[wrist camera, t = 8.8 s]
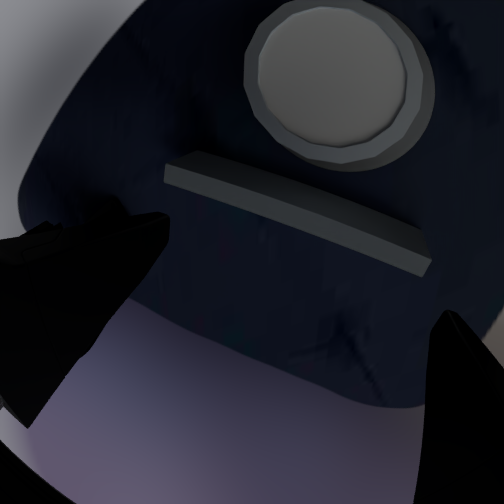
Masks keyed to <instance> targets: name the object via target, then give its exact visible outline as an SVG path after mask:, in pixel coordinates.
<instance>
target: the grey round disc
mask: <svg viewBox="0 0 504 504" xmlns="http://www.w3.org/2000/svg"><path fill="white" fill-rule="evenodd" d="M364 2H365V1H364ZM366 3H368V2H366ZM368 4H370V3H368ZM370 5H372V6H374V7H376V8H378V9H380V10H382V11H383V12H385V13H387V14H388V15H389V16H390V17H391V18H392V19H393V20H394V21H395V22H396V24H397V25H398V26H399V27H400V28H401V29H402V30H403V31H404V33H405V34H406V35H407V36H408V37H409V38H410V40H411V41H412V43H413V46H414V49H415V51H416V54H417V57H418V60H419V63H420V66H421V69H422V72H423V84H422V95H421V104H420V110H419V111H418V113H417V115H416V116H415V118H414V120H413V122H412V123H411V125H410V127H409V128H408V130H407V132H406V133H405V135H404V136H403V138H402V139H400V140H399V141H397V142H396V143H394V144H393V145H391V146H390V147H388V148H387V149H386V150H384V151H383V152H381V153H380V154H378V155H377V156H375V157H371V158H367V159H362V160H357V161H352V162H348V163H343V164H340V163H334V162H328V161H321V160H315V159H308V158H306V157H304V156H302V155H300V154H299V153H297V152H295V151H293V150H291V149H290V148H288V147H286V146H284V145H283V146H284V147H285V148H286V149H287V150H289V151H290V152H291V153H293V154H294V155H296V156H297V157H299V158H301V159H303V160H304V161H306V162H308V163H311V164H313V165H316V166H318V167H322V168H325V169H329V170H335V171H344V172H356V171H366V170H370V169H375V168H378V167H381V166H384V165H386V164H388V163H390V162H392V161H394V160H396V159H398V158H399V157H401V156H402V155H403V154H405V153H406V152H407V151H408V150H409V149H410V148H412V147H413V146H414V144H415V143H416V142H417V141H418V140H419V138H420V137H421V136H422V134H423V132H424V131H425V129H426V127H427V125H428V122H429V120H430V118H431V114H432V110H433V106H434V98H435V84H434V77H433V72H432V68H431V65H430V62H429V59H428V57H427V55H426V53H425V51H424V48H423V47H422V45H421V44H420V42H419V41H418V39H417V38H416V36H415V35H414V34H413V33H412V32H411V31H410V29H409V28H408V27H407V26H406V25H405V24H403V23H402V22H401V21H400V20H399V19H398V18H396V17H395V16H393V15H392V14H390V13H389V12H387V11H386V10H384V9H382V8H380V7H378V6H376V5H373V4H370Z"/></svg>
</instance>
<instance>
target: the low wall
mask: <svg viewBox="0 0 504 504" xmlns="http://www.w3.org/2000/svg"><path fill="white" fill-rule="evenodd" d="M164 182H165V183H168V184H171V185H174V186H177V187H180V188H183V189H186V190H189V191H192V192H195V193H198V194H201V195H204V196H207V197H210V198H213V199H216V200H219V201H221V202H224V203H227V204H230V205H233V206H236V207H239V208H242V209H244V210H247V211H250V212H253V213H256V214H259V215H261V216H264V217H267V218H270V219H273V220H275V221H278V222H281V223H284V224H286V225H289V226H292V227H294V228H297V229H300V230H303V231H305V232H308V233H311V234H313V235H316V236H319V237H321V238H324V239H327V240H329V241H332V242H334V243H337V244H340V245H342V246H345V247H348V248H350V249H353V250H355V251H358V252H360V253H363V254H365V255H368V256H371V257H373V258H376V259H378V260H381V261H383V262H386V263H388V264H391V265H393V266H396V267H398V268H401V269H403V270H405V271H408V272H410V273H413V274H415V275H418V276H420V277H422V276H423V275H424V273H425V271H426V269H427V268H428V266H429V264H430V262H431V261H432V259H431V256H430V253H429V250H428V247H427V244H426V242H425V239H424V236H423V233H422V231H421V230H420V229H418V228H416V227H413V226H411V225H409V224H406V223H404V222H402V221H399V220H397V219H395V218H392V217H390V216H387V215H385V214H382V213H380V212H378V211H375V210H373V209H370V208H368V207H365V206H363V205H360V204H357V203H355V202H352V201H350V200H347V199H344V198H342V197H339V196H337V195H334V194H331V193H328V192H326V191H323V190H320V189H317V188H315V187H312V186H309V185H306V184H303V183H301V182H298V181H295V180H292V179H289V178H286V177H283V176H280V175H277V174H274V173H271V172H268V171H265V170H262V169H259V168H255V167H252V166H249V165H246V164H243V163H239V162H236V161H233V160H230V159H226V158H223V157H219V156H216V155H213V154H209V153H206V152H202V151H198V150H196V151H194V152H192V153H189V154H187V155H185V156H182V157H180V158H178V159H175V160H173V161H171V162H168V163H166V166H165V175H164Z"/></svg>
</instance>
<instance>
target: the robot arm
mask: <svg viewBox="0 0 504 504" xmlns="http://www.w3.org/2000/svg"><path fill="white" fill-rule="evenodd" d="M114 204H115V205H114ZM169 229H170V217H169V216H168V215H167V214H164V213H161V212H152V213H146V214H140V215H134V216H128V215H127V213H126V212H125V210H124V209H123V207H122V205H121V204H120V202H119V201H118V199H116V198H114V199H112V200H110V201H109V202H108V203H106V204H105V205H104V206H103V207H102V208H101V209H100V210H98V211H97V212H96V213H95V214H94V215H93V216H92V217H91V218H90V219H88V220H87V221H86V222H85V223H84V224H83V225H78V226H73V227H68V228H64V229H63V226H62V224H61V222H60V223H58V224H57V225H55V226H53V224H51V223H49V222H48V221H47V220H46V221H45V222H43V223H41V224H40V225H38V226H36V227H35V228H33V229H31V230H29V231H28V232H26V233H24V234H22V235H21V236H19V237H14V238H7V239H1V240H0V410H1V408H2V407H3V406H4V407H5V408H6V409H7V410H8V411H9V412H10V413H11V414H12V415H13V416H14V417H15V418H16V419H17V420H18V421H19V422H20V423H21V424H23V425H24V426H25V427H26V428H27V429H28V428H29V427H30V426H31V424H32V423H33V421H34V420H35V419H36V417H37V416H38V414H39V413H40V411H41V410H42V409H43V407H44V406H45V404H46V403H47V402H48V400H49V399H50V397H51V396H52V395H53V393H54V392H55V390H56V389H57V388H58V386H59V385H60V383H61V382H62V381H63V379H64V378H65V376H66V375H67V374H68V373H69V371H70V370H71V369H72V367H73V366H74V364H75V363H76V362H77V361H78V359H79V358H81V357H82V356H83V355H85V354H86V353H87V352H88V351H89V350H90V348H91V347H92V346H93V344H94V343H95V341H96V339H97V338H98V336H99V335H100V333H101V332H102V330H103V328H104V327H105V325H106V324H107V322H108V321H109V320H110V319H111V317H112V316H113V315H114V314H115V312H116V311H117V310H118V309H119V307H120V306H121V305H122V304H123V303H124V301H125V300H126V299H127V298H128V297H129V296H130V294H131V293H132V292H133V291H134V290H135V288H136V287H137V286H138V285H139V284H140V282H141V281H142V280H143V279H144V277H145V276H146V275H147V273H148V272H149V270H150V269H151V267H152V266H153V264H154V263H155V261H156V260H157V258H158V257H159V255H160V254H161V253H162V251H163V250H164V248H165V247H166V245H167V243H168V240H169ZM413 502H414V503H413V504H504V368H503V367H502V366H501V364H500V363H499V362H498V361H497V359H496V358H495V357H494V356H493V354H492V353H491V352H490V351H489V349H488V348H487V347H486V346H485V345H484V343H483V342H482V341H481V340H480V339H479V337H478V336H477V335H476V334H475V333H474V332H473V330H472V329H471V328H470V327H469V326H468V325H467V324H466V322H465V321H464V320H463V319H462V318H461V317H460V316H459V315H458V314H457V313H456V312H453V311H450V310H445V311H444V312H443V313H442V315H441V316H440V318H439V319H438V321H437V322H436V324H435V325H434V327H433V328H432V330H431V333H430V340H429V352H428V362H427V371H426V392H425V415H424V428H423V438H422V448H421V457H420V465H419V471H418V478H417V484H416V491H415V495H414V501H413ZM0 504H76V503H74V502H73V501H72V500H70V499H69V498H67V497H66V496H64V495H63V494H62V493H60V492H59V491H58V490H56V489H55V488H54V487H52V486H51V485H50V484H49V483H48V482H46V481H45V480H44V479H43V478H41V477H40V476H39V475H38V474H36V473H35V472H34V471H33V470H32V469H31V468H30V467H28V466H27V465H26V464H25V463H24V462H23V461H22V460H21V459H19V458H18V457H17V456H16V455H15V454H14V453H13V452H12V451H11V450H10V449H9V448H8V447H7V446H6V445H5V444H4V443H3V442H2V441H1V440H0Z"/></svg>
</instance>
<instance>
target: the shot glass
mask: <svg viewBox="0 0 504 504" xmlns="http://www.w3.org/2000/svg"><path fill="white" fill-rule="evenodd" d="M422 84H423V72H422V69H421V66H420V63H419V60H418V57H417V54H416V51H415V49H414V46H413V43H412V41H411V40H410V38H409V37H408V36H407V35H406V34H405V33H404V31H403V30H402V29H401V28H400V27H399V26H398V25H397V24H396V22H395V21H394V20H393V19H392V18H391V17H390V16H389V15H388V14H387V13H385V12H383V11H382V10H380V9H378V8H376V7H374V6H372V5H370V4H368V3H366V2H364V1H362V0H294V1H291V2H288V3H285V4H283V5H282V6H281V7H279V8H278V9H277V10H276V11H275V12H273V13H272V14H271V15H270V16H269V17H267V18H266V19H265V20H264V21H263V22H262V23H260V24H259V26H258V28H257V30H256V32H255V34H254V36H253V38H252V40H251V42H250V44H249V46H248V48H247V50H246V52H245V60H244V85H243V86H244V88H245V91H246V94H247V96H248V99H249V102H250V104H251V107H252V110H253V113H254V116H255V117H256V118H257V119H258V120H259V122H260V123H261V124H262V125H263V126H264V127H265V128H266V130H267V131H268V132H269V133H270V134H271V135H272V136H273V138H274V139H275V140H276V141H277V142H279V143H280V144H282V145H284V146H286V147H288V148H290V149H291V150H293V151H295V152H297V153H299V154H300V155H302V156H304V157H306V158H308V159H315V160H321V161H328V162H334V163H340V164H343V163H348V162H352V161H357V160H362V159H367V158H371V157H375V156H377V155H378V154H380V153H381V152H383V151H384V150H386V149H387V148H388V147H390V146H391V145H393V144H394V143H396V142H397V141H399V140H400V139H402V138H403V136H404V135H405V133H406V132H407V130H408V128H409V127H410V125H411V123H412V122H413V120H414V118H415V116H416V115H417V113H418V111H419V110H420V104H421V95H422Z"/></svg>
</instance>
